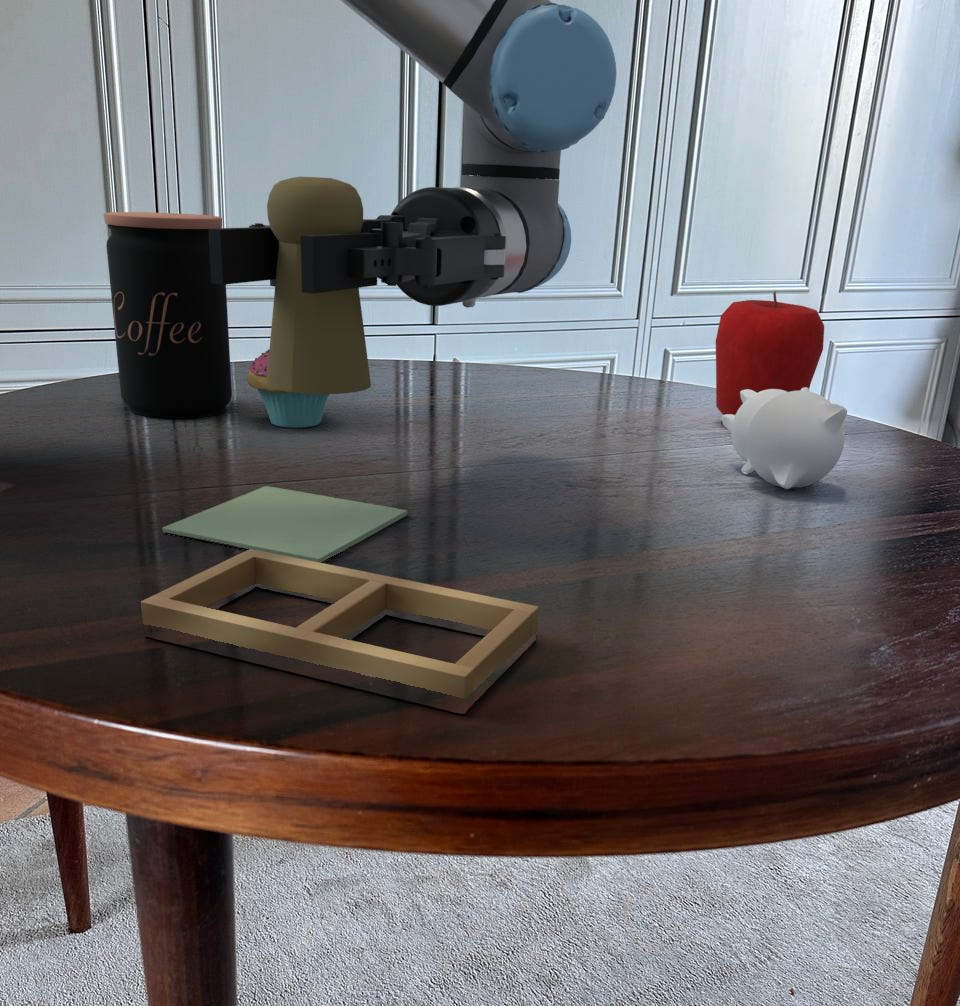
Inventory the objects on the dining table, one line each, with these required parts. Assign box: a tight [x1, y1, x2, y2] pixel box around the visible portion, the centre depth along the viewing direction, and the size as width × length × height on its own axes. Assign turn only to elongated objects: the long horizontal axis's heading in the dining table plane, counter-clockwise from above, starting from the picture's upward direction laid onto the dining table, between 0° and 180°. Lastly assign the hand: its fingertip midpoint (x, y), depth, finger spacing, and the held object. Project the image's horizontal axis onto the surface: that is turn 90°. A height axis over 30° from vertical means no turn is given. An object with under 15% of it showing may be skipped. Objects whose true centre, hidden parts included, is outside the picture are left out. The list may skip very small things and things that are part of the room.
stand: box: [140, 549, 540, 698], centre depth 53 cm, size 18×10×2 cm, turn 67°
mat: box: [161, 485, 408, 563], centre depth 70 cm, size 12×12×1 cm
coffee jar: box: [103, 211, 233, 419], centre depth 99 cm, size 11×11×18 cm
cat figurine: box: [721, 387, 848, 490], centre depth 86 cm, size 9×11×12 cm
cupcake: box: [246, 348, 330, 429], centre depth 97 cm, size 9×8×12 cm
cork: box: [266, 176, 372, 395], centre depth 57 cm, size 6×6×11 cm
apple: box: [715, 291, 825, 416], centre depth 105 cm, size 11×10×14 cm
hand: (261, 260), depth 52 cm, fingers closed on cork, 5 cm apart
